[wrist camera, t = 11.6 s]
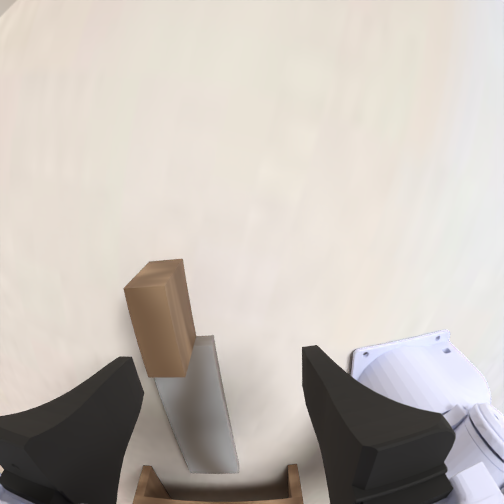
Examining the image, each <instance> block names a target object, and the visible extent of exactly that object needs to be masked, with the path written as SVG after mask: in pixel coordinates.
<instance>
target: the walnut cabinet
mask: <svg viewBox="0 0 504 504" xmlns="http://www.w3.org/2000/svg"><path fill="white" fill-rule="evenodd" d="M133 504H303V497H302V491H301V485H300V479H299V473H298V467H297V464H293V465H288V498H286V499H276V500H264V501H245V502H201V501H183V500H172V499H171V498H170V496H169V495H168V493H167V491H166V490H165V488H164V487H163V485H162V483H161V482H160V480H159V478H158V477H157V475H156V473H155V472H154V470H153V468H152V466H144V465H143V469H142V472H141V475H140V479H139V482H138V486H137V490H136V493H135V497H134V500H133Z"/></svg>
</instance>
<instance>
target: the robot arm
mask: <svg viewBox="0 0 504 504" xmlns="http://www.w3.org/2000/svg"><path fill="white" fill-rule="evenodd" d="M437 336H438V337H437ZM436 337H437V338H436ZM449 338H450V331H449V330H447V329H445V330H442V331H438V332H434V333H430V334H426V335H421V336H417V337H413V338H408V339H404V340H399V341H395V342H390V343H385V344H380V345H375V346H369V347H364V348H359V349H356V350H355V351H354V353H353V359H352V370H351V376H350V375H349V374H348V373H346V372H345V371H344V370H343V369H342V368H341V367H339V366H338V365H337V364H336V363H335V362H334V361H333V360H332V359H331V358H330V357H329V356H327V355H326V354H325V353H324V352H323V351H322V349H321V348H320V347H318V346H317V345H315V346H307V347H302V386H303V391H304V397H305V402H306V406H307V409H308V412H309V415H310V418H311V421H312V424H313V427H314V430H315V433H316V437H317V440H318V443H319V446H320V449H321V453H322V458H323V463H324V468H325V474H326V480H327V485H328V491H329V498H330V504H504V415H503V414H502V413H501V412H500V411H499V410H498V409H496V408H495V407H494V406H492V405H491V393H490V389H489V386H488V383H487V381H486V379H485V377H484V375H483V374H482V373H481V372H480V371H479V370H478V369H477V368H476V367H475V366H474V365H473V364H472V363H471V362H470V361H469V360H468V359H467V358H466V357H465V356H464V355H463V354H462V353H461V352H460V351H459V350H458V349H457V348H456V347H455V346H454V345H453V344H452V343H451V342H450V341H449ZM365 352H367V353H366V354H365V355H363V354H364V353H365ZM143 396H144V391H143V388H142V385H141V382H140V380H139V377H138V374H137V371H136V368H135V365H134V362H133V359H132V357H118V358H116V359H115V360H113V361H112V362H111V363H109V364H108V365H106V366H105V367H104V368H102V369H101V370H100V371H98V372H97V373H96V374H94V375H93V376H91V377H90V378H89V379H87V380H86V381H84V382H83V383H81V384H80V385H78V386H77V387H75V388H74V389H72V390H71V391H69V392H67V393H66V394H64V395H62V396H60V397H58V398H56V399H54V400H52V401H50V402H48V403H45V404H43V405H41V406H38V407H36V408H33V409H30V410H27V411H23V412H19V413H15V414H11V415H5V416H0V465H1V466H2V467H3V469H4V471H3V473H2V474H1V473H0V504H116V502H117V492H118V484H119V478H120V472H121V467H122V463H123V458H124V454H125V451H126V448H127V445H128V442H129V440H130V437H131V434H132V432H133V429H134V427H135V424H136V421H137V419H138V416H139V413H140V410H141V405H142V401H143Z"/></svg>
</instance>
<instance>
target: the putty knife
mask: <svg viewBox="0 0 504 504" xmlns="http://www.w3.org/2000/svg"><path fill="white" fill-rule="evenodd" d="M124 293H125V297H126V301H127V305H128V309H129V313H130V317H131V321H132V324H133V328H134V332H135V335H136V339H137V342H138V346H139V349H140V352H141V355H142V359H143V362H144V365H145V368H146V371H147V374H148V377H154V379H155V382H156V386H157V388H158V391H159V394H160V397H161V400H162V403H163V406H164V409H165V411H166V414H167V417H168V419H169V422H170V425H171V427H172V430H173V432H174V435H175V437H176V440H177V442H178V445H179V447H180V450H181V452H182V454H183V457H184V459H185V461H186V464H187V466H188V468H189V470H190V473H204V474H226V473H239V461H238V456H237V452H236V448H235V443H234V439H233V434H232V429H231V425H230V420H229V415H228V410H227V405H226V400H225V395H224V390H223V385H222V380H221V374H220V369H219V363H218V358H217V352H216V347H215V341H214V335H212V336H196V332H195V327H194V322H193V317H192V311H191V306H190V300H189V295H188V289H187V283H186V277H185V271H184V265H183V259H174V260H163V261H153V262H149V263H148V264H147V265H146V266H145V267H144V268H143V269H142V270H141V271H140V272H139V273H138V274H137V275H136V276H135V277H134V278H133V279H132V280H131V281H130V282H129V283H128V284H127V285H126V286H125V288H124Z"/></svg>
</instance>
